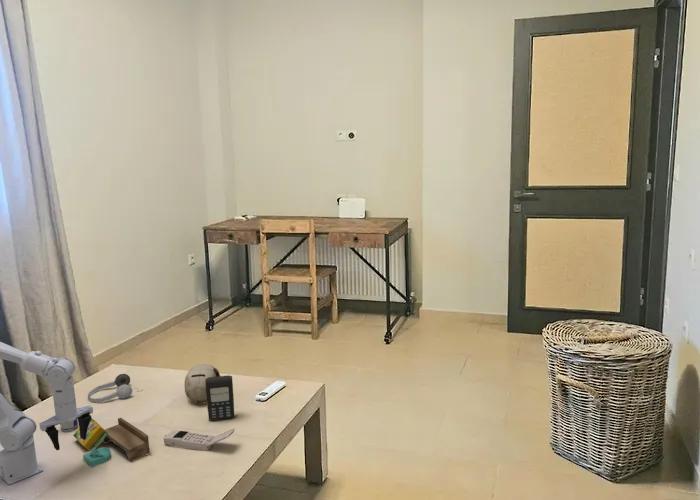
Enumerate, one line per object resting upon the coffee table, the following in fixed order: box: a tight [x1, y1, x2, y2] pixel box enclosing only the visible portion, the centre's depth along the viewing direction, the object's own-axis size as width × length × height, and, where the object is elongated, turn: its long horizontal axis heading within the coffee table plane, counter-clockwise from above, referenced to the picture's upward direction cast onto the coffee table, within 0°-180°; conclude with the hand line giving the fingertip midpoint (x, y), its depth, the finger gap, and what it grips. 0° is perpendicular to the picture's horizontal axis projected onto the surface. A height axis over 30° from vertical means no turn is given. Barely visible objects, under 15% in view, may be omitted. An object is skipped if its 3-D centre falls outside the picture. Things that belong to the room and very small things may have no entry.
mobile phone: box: [163, 428, 236, 451], centre depth 188 cm, size 6×6×25 cm
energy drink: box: [59, 418, 79, 433], centre depth 200 cm, size 5×5×12 cm
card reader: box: [205, 374, 235, 422], centre depth 204 cm, size 9×4×15 cm, turn 101°
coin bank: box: [184, 363, 221, 404], centre depth 222 cm, size 16×17×13 cm
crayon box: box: [72, 418, 108, 452], centre depth 190 cm, size 7×3×12 cm
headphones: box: [87, 373, 145, 404], centre depth 226 cm, size 17×6×20 cm
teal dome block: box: [82, 447, 112, 468], centre depth 181 cm, size 7×6×2 cm
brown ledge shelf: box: [102, 417, 151, 462], centre depth 187 cm, size 6×18×6 cm, turn 47°
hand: (70, 443), depth 175 cm, fingers open, 7 cm apart
